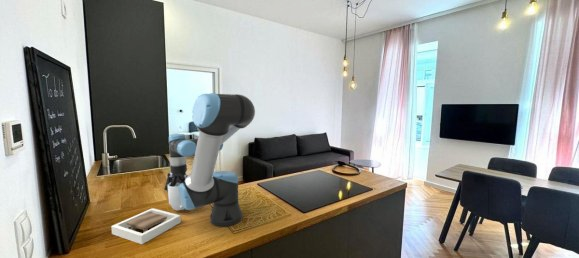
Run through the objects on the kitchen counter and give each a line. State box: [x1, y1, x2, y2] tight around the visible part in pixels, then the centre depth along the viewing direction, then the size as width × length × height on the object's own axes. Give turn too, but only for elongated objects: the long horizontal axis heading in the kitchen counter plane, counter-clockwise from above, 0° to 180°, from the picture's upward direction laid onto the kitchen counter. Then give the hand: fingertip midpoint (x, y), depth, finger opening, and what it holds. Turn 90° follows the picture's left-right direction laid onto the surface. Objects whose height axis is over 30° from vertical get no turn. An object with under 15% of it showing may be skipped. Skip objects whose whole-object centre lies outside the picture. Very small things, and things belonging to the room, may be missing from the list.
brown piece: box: [127, 212, 167, 233], centre depth 105 cm, size 11×11×4 cm
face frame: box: [110, 207, 182, 245], centre depth 105 cm, size 19×19×4 cm
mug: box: [167, 182, 186, 211], centre depth 120 cm, size 15×11×13 cm
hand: (180, 205), depth 121 cm, fingers closed on mug, 12 cm apart
